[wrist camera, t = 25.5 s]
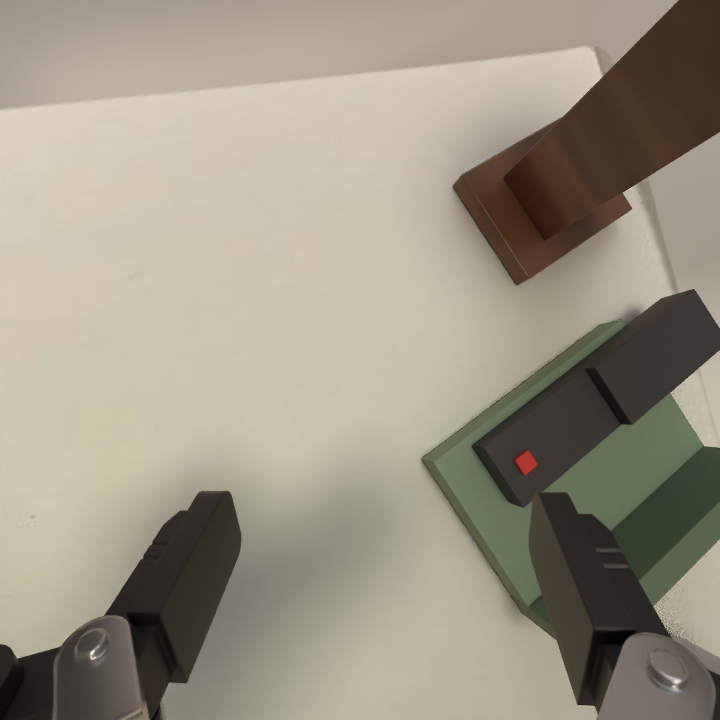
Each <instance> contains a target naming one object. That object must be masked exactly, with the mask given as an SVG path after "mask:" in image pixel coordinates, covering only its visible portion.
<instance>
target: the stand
mask: <svg viewBox="0 0 720 720" xmlns="http://www.w3.org/2000/svg"><path fill="white" fill-rule="evenodd" d="M719 132H720V0H679V1H678V2H677V3H676V4H675V5H674V6H673V7H672V8H671V9H670V10H669V11H668V12H667V13H666V14H665V15H664V16H663V17H662V18H661V19H660V20H659V21H658V22H657V23H656V24H655V25H654V26H653V27H652V28H651V29H650V30H649V31H648V32H647V33H646V34H645V35H644V36H643V37H642V38H641V39H640V40H639V41H638V42H637V43H636V44H635V45H634V46H633V47H632V48H631V49H630V50H629V51H628V52H627V53H626V54H625V55H624V56H623V57H622V58H621V59H620V60H619V61H618V62H617V63H616V64H615V65H614V66H613V67H612V68H611V69H610V70H609V71H608V72H607V73H606V74H605V75H604V76H603V77H602V78H601V79H600V80H599V81H598V82H597V83H596V84H595V85H594V86H593V87H592V88H591V89H590V90H589V91H588V92H587V93H586V94H585V95H584V96H583V97H582V98H581V99H580V100H579V101H578V102H577V103H576V104H575V105H574V106H573V107H572V108H571V109H570V110H569V111H568V112H567V113H566V114H565V115H564V116H563V117H561V118H559V119H558V120H556V121H554V122H553V123H551V124H549V125H547V126H546V127H544V128H542V129H540V130H539V131H537V132H535V133H533V134H532V135H530V136H528V137H526V138H525V139H523V140H521V141H519V142H518V143H516V144H514V145H512V146H511V147H509V148H507V149H506V150H504V151H502V152H500V153H499V154H497V155H495V156H493V157H492V158H490V159H488V160H486V161H485V162H483V163H481V164H479V165H478V166H476V167H474V168H472V169H471V170H469V171H467V172H465V173H464V174H462V175H461V176H460V178H459V179H458V180H457V181H456V182H455V184H454V185H453V187H454V189H455V190H456V192H457V194H458V195H459V197H460V198H461V200H462V201H463V203H464V204H465V206H466V207H467V209H468V211H469V212H470V214H471V215H472V217H473V218H474V220H475V221H476V223H477V225H478V226H479V228H480V229H481V231H482V232H483V234H484V235H485V237H486V238H487V240H488V242H489V243H490V245H491V246H492V248H493V249H494V251H495V252H496V254H497V256H498V257H499V259H500V260H501V262H502V263H503V265H504V266H505V268H506V269H507V271H508V273H509V274H510V276H511V277H512V279H513V280H514V282H515V283H516V285H519V284H520V283H522V282H524V281H526V280H528V279H530V278H531V277H533V276H534V275H536V274H537V273H539V272H540V271H542V270H543V269H545V268H546V267H548V266H549V265H551V264H552V263H554V262H555V261H556V260H558V259H559V258H561V257H562V256H564V255H565V254H567V253H568V252H570V251H571V250H573V249H574V248H576V247H577V246H579V245H580V244H582V243H583V242H584V241H586V240H587V239H589V238H590V237H592V236H593V235H595V234H596V233H598V232H599V231H601V230H602V229H604V228H605V227H607V226H608V225H610V224H611V223H612V222H614V221H615V220H617V219H618V218H620V217H621V216H623V215H624V214H626V213H627V212H629V211H630V210H631V209H632V207H631V206H630V204H629V203H628V201H627V200H626V198H625V196H624V195H623V192H624V191H626V190H627V189H629V188H631V187H632V186H634V185H635V184H637V183H639V182H640V181H642V180H643V179H645V178H647V177H648V176H650V175H651V174H653V173H655V172H656V171H658V170H659V169H661V168H663V167H664V166H666V165H667V164H669V163H670V162H672V161H674V160H675V159H677V158H679V157H680V156H682V155H683V154H685V153H687V152H688V151H690V150H691V149H693V148H695V147H696V146H698V145H700V144H701V143H703V142H704V141H706V140H708V139H709V138H711V137H712V136H714V135H716V134H717V133H719Z"/></svg>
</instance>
